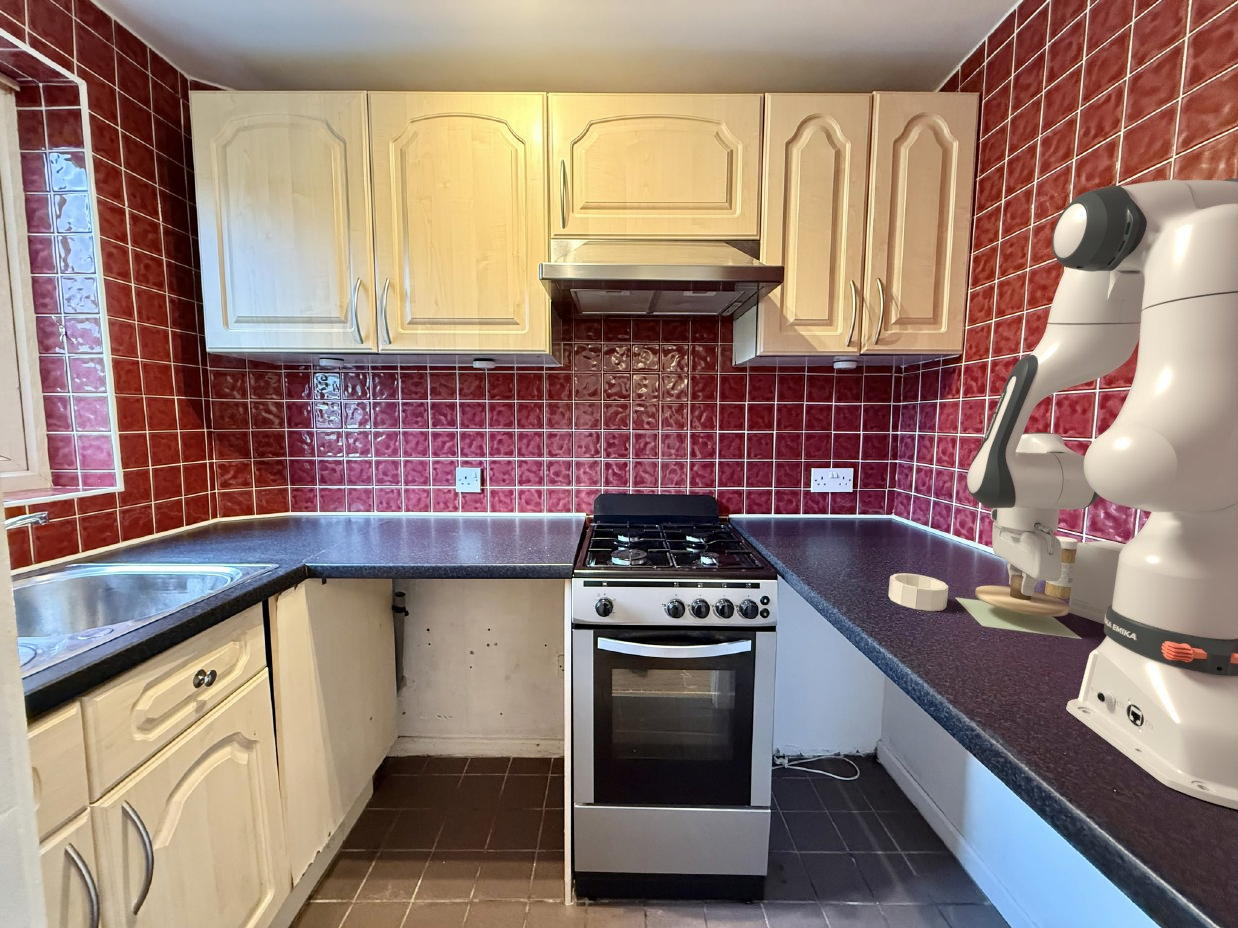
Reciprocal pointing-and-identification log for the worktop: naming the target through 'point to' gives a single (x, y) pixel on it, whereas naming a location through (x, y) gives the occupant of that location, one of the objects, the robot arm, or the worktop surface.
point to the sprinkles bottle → (1064, 570)
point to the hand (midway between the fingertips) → (1020, 590)
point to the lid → (1021, 599)
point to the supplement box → (1094, 579)
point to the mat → (1014, 619)
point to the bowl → (918, 592)
